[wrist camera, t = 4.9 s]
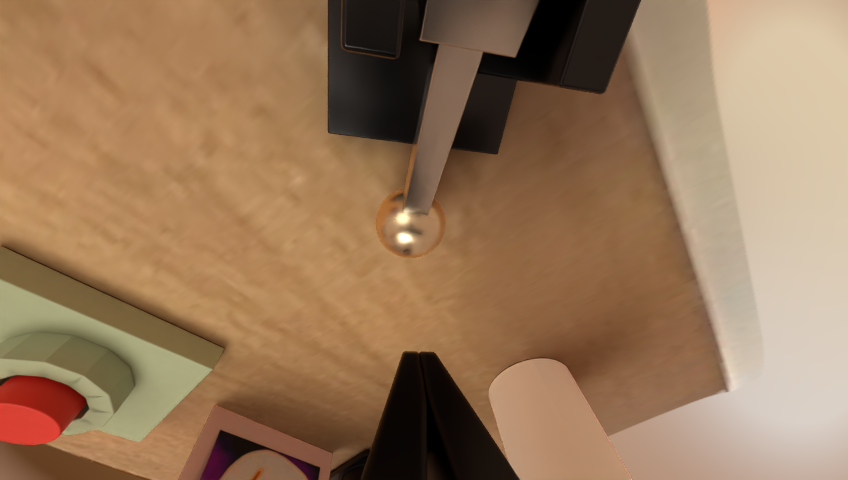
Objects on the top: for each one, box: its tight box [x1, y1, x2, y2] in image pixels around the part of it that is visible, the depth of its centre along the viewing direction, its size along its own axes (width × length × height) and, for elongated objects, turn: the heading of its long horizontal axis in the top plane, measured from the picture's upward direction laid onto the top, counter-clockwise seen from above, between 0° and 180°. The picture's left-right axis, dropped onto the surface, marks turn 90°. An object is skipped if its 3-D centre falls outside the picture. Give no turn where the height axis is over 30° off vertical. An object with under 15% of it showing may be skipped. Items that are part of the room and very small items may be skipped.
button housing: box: [0, 246, 224, 442], centre depth 19 cm, size 10×12×4 cm
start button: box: [0, 375, 87, 445], centre depth 17 cm, size 4×4×2 cm
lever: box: [376, 0, 541, 258], centre depth 11 cm, size 13×3×3 cm, turn 171°
